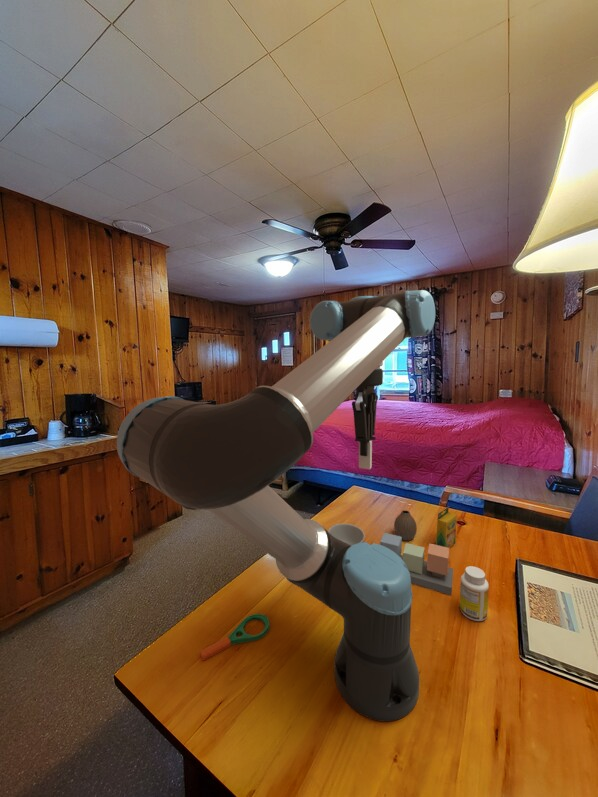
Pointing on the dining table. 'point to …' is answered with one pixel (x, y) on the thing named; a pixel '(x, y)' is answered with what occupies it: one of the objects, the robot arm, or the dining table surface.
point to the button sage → (414, 558)
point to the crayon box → (446, 529)
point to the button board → (433, 579)
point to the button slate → (392, 543)
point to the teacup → (347, 533)
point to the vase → (405, 526)
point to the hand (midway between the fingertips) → (365, 467)
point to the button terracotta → (438, 559)
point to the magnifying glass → (234, 639)
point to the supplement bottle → (474, 594)
